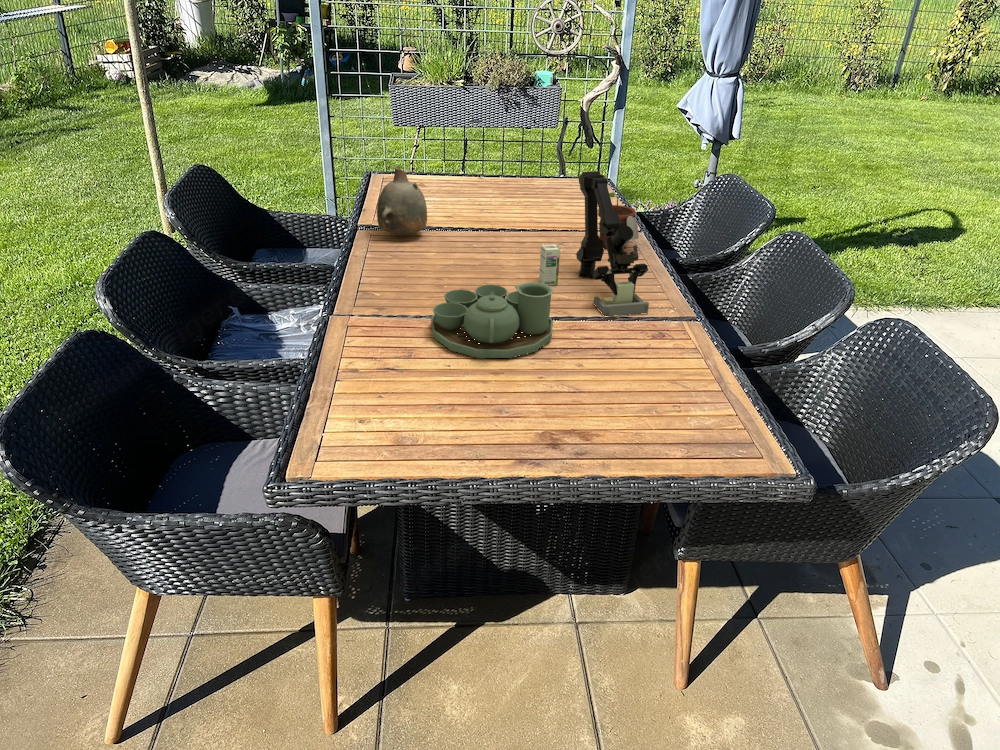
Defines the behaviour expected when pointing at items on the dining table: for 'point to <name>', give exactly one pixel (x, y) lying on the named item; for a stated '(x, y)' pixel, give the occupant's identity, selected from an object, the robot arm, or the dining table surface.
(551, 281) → the syrup box
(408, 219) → the jug
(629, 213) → the potted plant
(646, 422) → the dining table surface
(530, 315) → the tea set
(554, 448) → the dining table surface
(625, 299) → the green block
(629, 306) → the frame
